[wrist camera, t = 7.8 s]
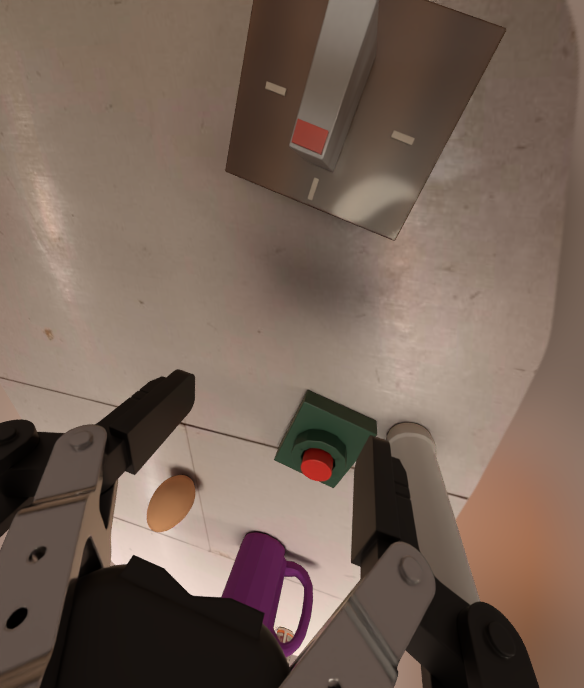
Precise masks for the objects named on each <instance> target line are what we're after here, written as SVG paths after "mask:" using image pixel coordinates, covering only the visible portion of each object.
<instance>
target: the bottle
mask: <svg viewBox="0 0 584 688" xmlns="http://www.w3.org/2000/svg"><path fill="white" fill-rule="evenodd" d="M387 441H389V443H390V447H391V456H392V457H395V458H398V459H400V461H401V463H402V465H403V467H404V468H405V470H406V472H407V478H408V484H409V487H408V488H409V490H410V496H411V498H410V500H411V503H412V509H413V515H414V521H415V527H416V533H417V539H418V545H419V549H420V552H421V554H422V555H423V556H424V558H425V559H426V560H427V562H428V564H429V565H430V567H431V570H432V572H433V574H434V576H435V577H436V578H437V579H438V580H439V581H440V582H442V583H443V584H444V585H445V586H447V587H448V588H449V589H450V590H452V591H453V592H454V593H456V594H457V595H458V596H460V597H461V598H462V599H463V600H465V601H466V602H467V603H469V604H470V605H471V604H473V603H475V602H479V601H480V599H479V596H478V593H477V589H476V586H475V583H474V580H473V576H472V573H471V570H470V566H469V563H468V560H467V557H466V553H465V550H464V547H463V544H462V540H461V537H460V534H459V530H458V527H457V524H456V521H455V517H454V514H453V511H452V507H451V504H450V501H449V498H448V494H447V491H446V488H445V485H444V481H443V478H442V475H441V471H440V468H439V465H438V462H437V458H436V445H435V442H434V440H433V438H432V437H431V435H430V433H429V432H428V430H427V429H425V428H424V427H422V426H421V425H418V424H415V423H401V424H397V425H395V426H394V427H392V428H391V429H390V431H389V433H388V435H387Z"/></svg>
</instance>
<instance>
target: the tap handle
mask: <svg viewBox="0 0 584 688" xmlns="http://www.w3.org/2000/svg"><path fill="white" fill-rule="evenodd" d="M378 8H379V0H329V2H328V6H327V9H326V13H325V17H324V20H323V24H322V28H321V31H320V35H319V39H318V42H317V46H316V50H315V53H314V57H313V61H312V64H311V68H310V71H309V75H308V79H307V82H306V86H305V90H304V93H303V97H302V101H301V104H300V108H299V112H298V115H297V119H296V123H295V126H294V130H293V134H292V137H291V141H290V144H289V146H290V147H291V148H292V149H293V150H294V151H295V152H297V153H298V154H299V155H300V156H301V157H303V158H304V159H305V160H306V161H308V162H310V163H312V164H314V165H317V166H319V167H322V168H324V169H326V170H329V171H331V172H333V171H334V169H335V166H336V163H337V160H338V158H339V155H340V152H341V150H342V147H343V144H344V141H345V139H346V136H347V133H348V130H349V128H350V125H351V122H352V119H353V117H354V114H355V111H356V108H357V106H358V103H359V100H360V97H361V95H362V92H363V89H364V87H365V84H366V81H367V78H368V76H369V73H370V70H371V67H372V65H373V62H374V59H375V56H376V43H377V26H378Z"/></svg>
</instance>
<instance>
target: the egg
mask: <svg viewBox="0 0 584 688" xmlns="http://www.w3.org/2000/svg"><path fill="white" fill-rule="evenodd" d="M194 499H195V486H194V483H193V481H192V480H191V479H190V478H189V477H187V476H185V475H177V476H173V477H171V478H169V479H167V480H165V481H164V482H163V483H162V484H161V485H160V486H159V487H158V488H157V490H156V491H155V492H154V494H153V496H152V498H151V500H150V503H149V506H148V510H147V523H148V525H149V527H150V529H152V530H153V531H155V532H163V531H167V530H169V529H171V528H173V527H174V526H175V525H177V524H178V523H179V522H181V521H182V520H183V519H184V518H185V516H186V515H187V514H188V512H189V511H190V509H191V507H192V505H193V503H194Z"/></svg>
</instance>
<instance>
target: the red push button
mask: <svg viewBox="0 0 584 688" xmlns="http://www.w3.org/2000/svg"><path fill="white" fill-rule="evenodd" d="M332 468H333V458H332V456H331V455H330V454H329V453H328V452H326V451H324V450H322V449H318V448H310V449H308V450H306V451H305V453H304V455H303V459H302V463H301V471H302V472H303V474H304V475H305V476H306V477H308V478H310V479H312V480H315V481H326V480H328V479H329V478H330V477H331V475H332Z"/></svg>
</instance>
